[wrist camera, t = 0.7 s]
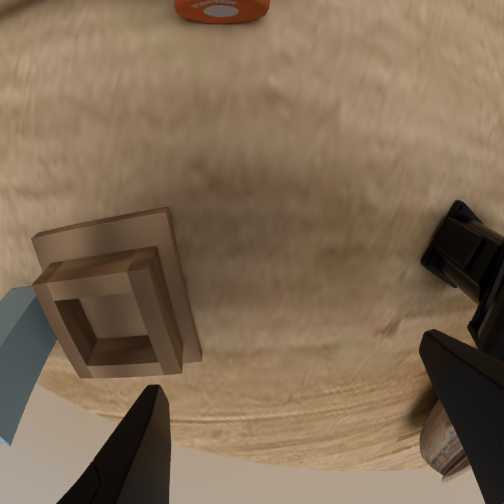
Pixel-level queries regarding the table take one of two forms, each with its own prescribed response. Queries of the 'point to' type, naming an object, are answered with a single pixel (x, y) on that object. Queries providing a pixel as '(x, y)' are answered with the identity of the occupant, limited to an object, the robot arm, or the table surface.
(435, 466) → the cooking pot
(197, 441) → the table surface
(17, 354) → the pale blue tower
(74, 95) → the table surface
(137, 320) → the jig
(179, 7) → the toy helicopter
